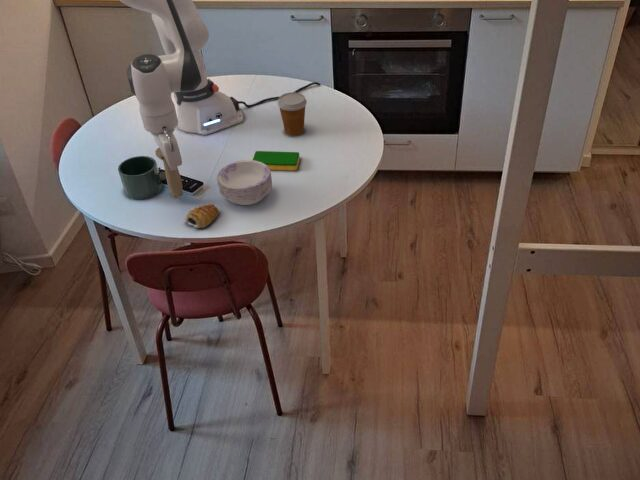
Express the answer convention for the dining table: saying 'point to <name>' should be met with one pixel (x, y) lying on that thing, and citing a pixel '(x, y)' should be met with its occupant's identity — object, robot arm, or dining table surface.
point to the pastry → (202, 216)
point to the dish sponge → (278, 159)
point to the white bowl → (244, 181)
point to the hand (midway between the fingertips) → (170, 164)
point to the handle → (171, 177)
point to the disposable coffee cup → (292, 112)
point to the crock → (140, 177)
